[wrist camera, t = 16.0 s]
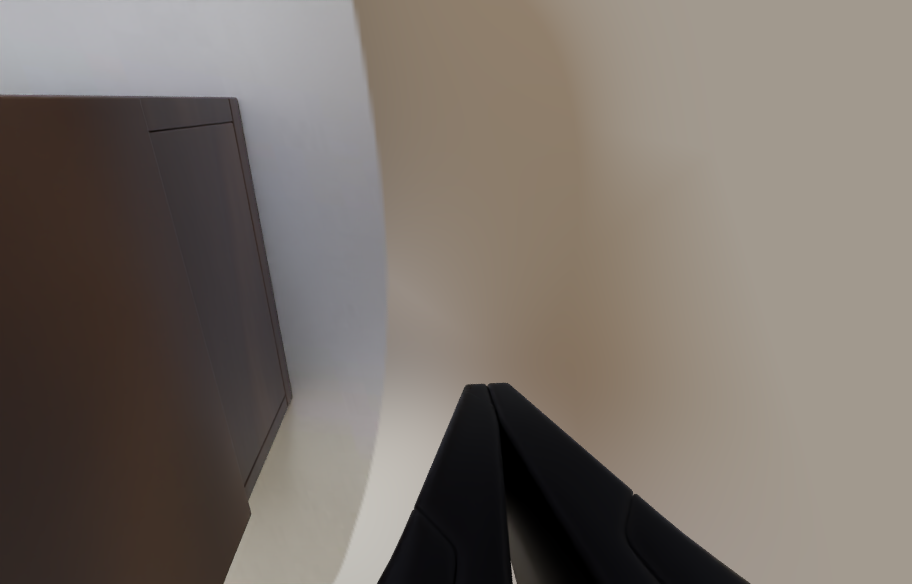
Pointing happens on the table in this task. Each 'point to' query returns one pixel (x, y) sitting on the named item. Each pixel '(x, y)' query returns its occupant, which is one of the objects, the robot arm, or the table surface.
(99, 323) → the case lid
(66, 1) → the table surface
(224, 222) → the case
